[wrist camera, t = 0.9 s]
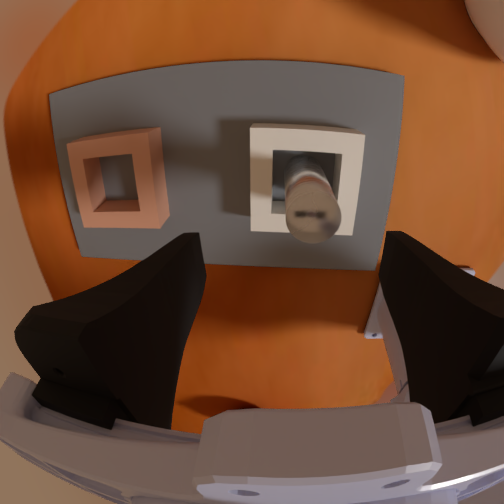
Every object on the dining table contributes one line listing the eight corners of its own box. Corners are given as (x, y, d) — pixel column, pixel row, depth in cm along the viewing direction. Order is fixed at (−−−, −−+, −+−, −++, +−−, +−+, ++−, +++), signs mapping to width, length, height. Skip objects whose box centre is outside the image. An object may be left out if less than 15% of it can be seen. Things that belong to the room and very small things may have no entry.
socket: (160, 126, 17) (147, 132, 15) (169, 215, 20) (160, 228, 19) (82, 137, 18) (66, 143, 16) (97, 215, 21) (83, 227, 19)
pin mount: (356, 129, 16) (365, 134, 14) (346, 221, 19) (352, 235, 18) (253, 123, 17) (249, 127, 15) (253, 217, 20) (250, 231, 18)
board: (398, 75, 15) (404, 75, 14) (371, 263, 22) (374, 270, 21) (57, 92, 17) (49, 94, 16) (87, 250, 24) (81, 256, 23)
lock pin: (324, 156, 17) (344, 194, 12) (321, 192, 19) (337, 244, 13) (284, 154, 18) (286, 190, 12) (283, 190, 19) (284, 242, 13)
